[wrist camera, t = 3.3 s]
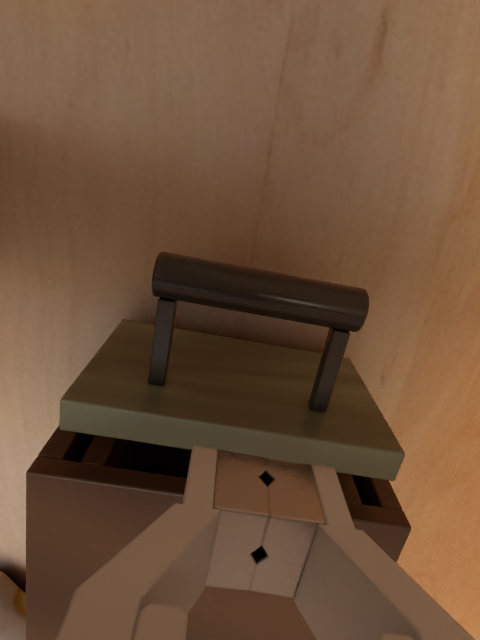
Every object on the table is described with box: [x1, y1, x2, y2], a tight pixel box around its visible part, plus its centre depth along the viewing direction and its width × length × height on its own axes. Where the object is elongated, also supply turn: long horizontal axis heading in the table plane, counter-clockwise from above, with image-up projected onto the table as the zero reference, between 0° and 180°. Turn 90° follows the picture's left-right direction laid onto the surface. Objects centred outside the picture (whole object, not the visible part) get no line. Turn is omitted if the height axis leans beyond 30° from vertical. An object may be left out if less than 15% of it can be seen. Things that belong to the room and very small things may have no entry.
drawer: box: [59, 251, 405, 504], centre depth 18 cm, size 18×11×7 cm, turn 169°
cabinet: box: [26, 426, 411, 640], centre depth 20 cm, size 15×13×9 cm
